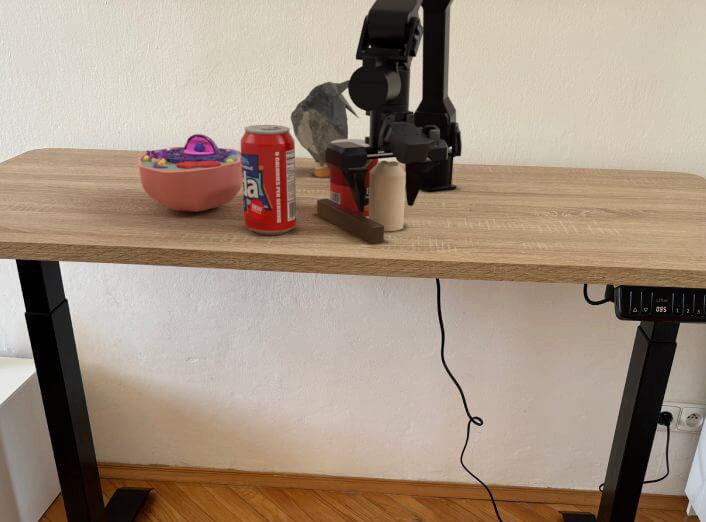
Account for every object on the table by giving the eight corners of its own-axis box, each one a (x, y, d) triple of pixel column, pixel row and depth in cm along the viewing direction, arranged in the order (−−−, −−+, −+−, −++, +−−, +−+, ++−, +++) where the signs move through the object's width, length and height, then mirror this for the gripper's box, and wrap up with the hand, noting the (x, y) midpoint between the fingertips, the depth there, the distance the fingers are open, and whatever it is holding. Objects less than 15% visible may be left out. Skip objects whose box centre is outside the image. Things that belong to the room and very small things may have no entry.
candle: (377, 232, 121) (378, 166, 116) (363, 223, 125) (364, 159, 120) (409, 230, 123) (412, 164, 118) (394, 221, 127) (397, 157, 122)
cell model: (115, 215, 125) (105, 142, 119) (186, 190, 141) (181, 124, 136) (206, 229, 119) (200, 153, 114) (269, 201, 136) (267, 133, 130)
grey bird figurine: (275, 171, 157) (271, 74, 149) (334, 162, 167) (334, 71, 158) (319, 184, 148) (318, 82, 140) (378, 174, 158) (381, 78, 149)
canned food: (371, 218, 128) (372, 148, 123) (324, 214, 130) (324, 145, 124) (381, 207, 135) (383, 140, 129) (336, 203, 136) (336, 137, 131)
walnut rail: (327, 213, 130) (327, 198, 129) (383, 242, 116) (384, 225, 115) (317, 214, 129) (316, 199, 128) (372, 243, 115) (372, 227, 114)
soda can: (301, 235, 118) (299, 131, 111) (248, 238, 116) (243, 132, 109) (291, 221, 125) (288, 123, 117) (241, 224, 122) (236, 123, 115)
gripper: (361, 113, 105) (359, 228, 112) (473, 107, 113) (464, 214, 121) (323, 102, 113) (323, 210, 120) (430, 97, 122) (424, 198, 129)
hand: (386, 208), depth 122 cm, fingers open, 9 cm apart
